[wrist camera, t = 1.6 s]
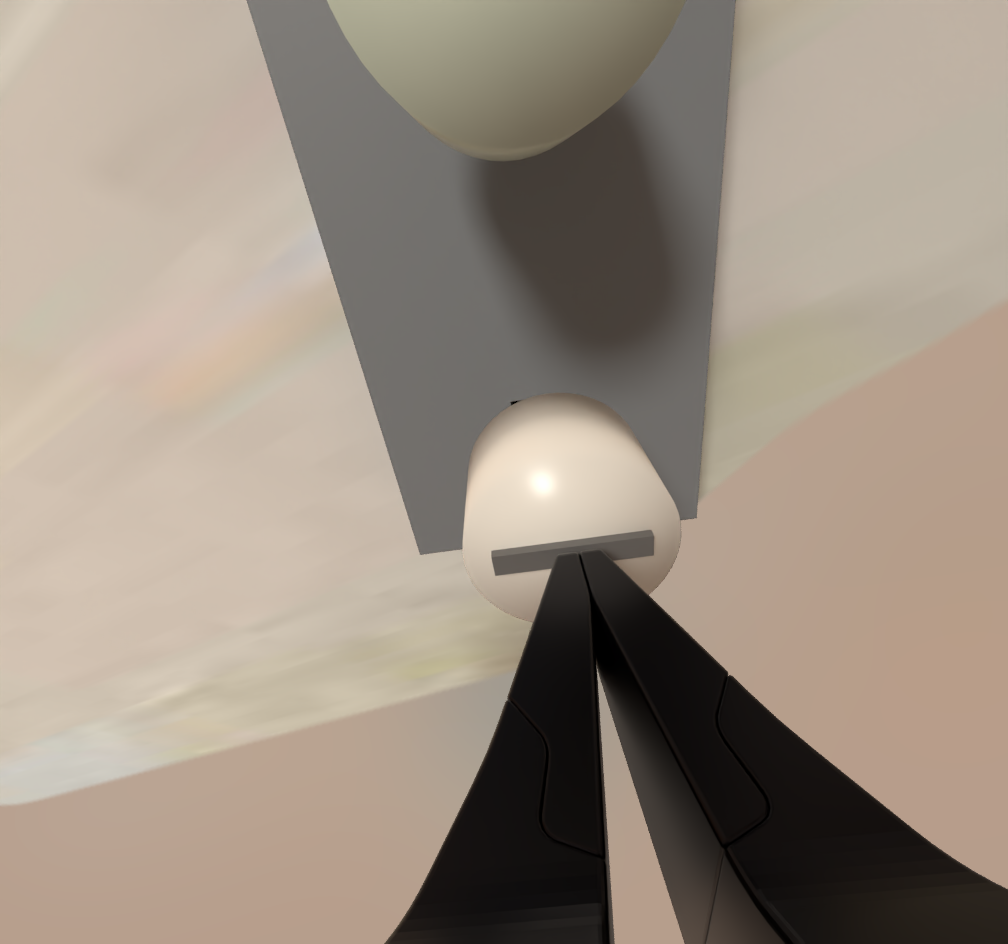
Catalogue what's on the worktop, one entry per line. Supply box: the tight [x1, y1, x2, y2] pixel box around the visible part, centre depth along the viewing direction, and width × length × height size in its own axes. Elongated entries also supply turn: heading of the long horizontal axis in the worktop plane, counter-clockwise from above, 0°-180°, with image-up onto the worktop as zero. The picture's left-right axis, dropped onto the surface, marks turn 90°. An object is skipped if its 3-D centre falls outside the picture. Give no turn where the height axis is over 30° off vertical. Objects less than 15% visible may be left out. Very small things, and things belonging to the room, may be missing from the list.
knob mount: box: [247, 0, 735, 555], centre depth 12 cm, size 10×27×4 cm, turn 9°
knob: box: [463, 393, 681, 622], centre depth 12 cm, size 4×4×7 cm
